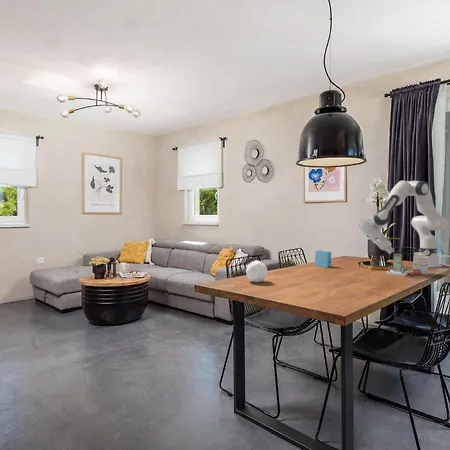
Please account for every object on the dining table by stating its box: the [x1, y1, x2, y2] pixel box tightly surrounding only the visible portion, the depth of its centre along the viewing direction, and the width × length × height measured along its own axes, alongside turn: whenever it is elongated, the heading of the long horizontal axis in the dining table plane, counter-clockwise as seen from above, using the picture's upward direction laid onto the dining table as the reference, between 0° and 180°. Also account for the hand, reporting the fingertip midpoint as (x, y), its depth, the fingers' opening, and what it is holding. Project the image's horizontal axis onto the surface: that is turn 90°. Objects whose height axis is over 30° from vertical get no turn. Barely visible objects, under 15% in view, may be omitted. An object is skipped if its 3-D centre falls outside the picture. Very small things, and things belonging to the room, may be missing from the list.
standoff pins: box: [387, 265, 407, 273], centre depth 255 cm, size 10×10×3 cm
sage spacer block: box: [392, 253, 403, 272], centre depth 255 cm, size 4×4×12 cm
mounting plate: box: [385, 268, 409, 277], centre depth 255 cm, size 12×12×2 cm
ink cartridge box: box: [412, 251, 429, 275], centre depth 255 cm, size 9×5×15 cm, turn 84°
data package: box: [314, 249, 332, 268], centre depth 285 cm, size 12×4×12 cm, turn 37°
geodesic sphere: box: [245, 259, 268, 283], centre depth 228 cm, size 14×14×14 cm
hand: (392, 252), depth 256 cm, fingers open, 8 cm apart
